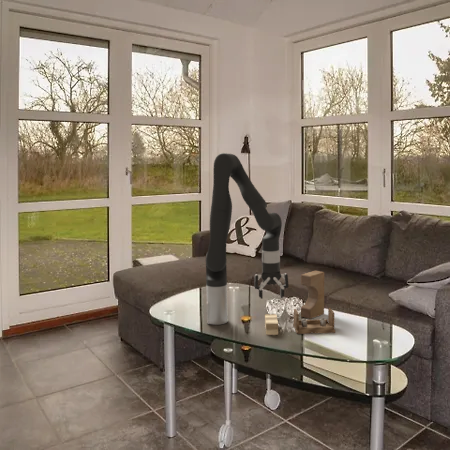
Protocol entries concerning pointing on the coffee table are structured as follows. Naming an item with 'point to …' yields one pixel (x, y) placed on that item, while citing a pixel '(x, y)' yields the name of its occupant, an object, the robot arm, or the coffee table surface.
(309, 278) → the decorative block
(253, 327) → the coffee table surface
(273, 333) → the plank
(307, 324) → the peg frame
